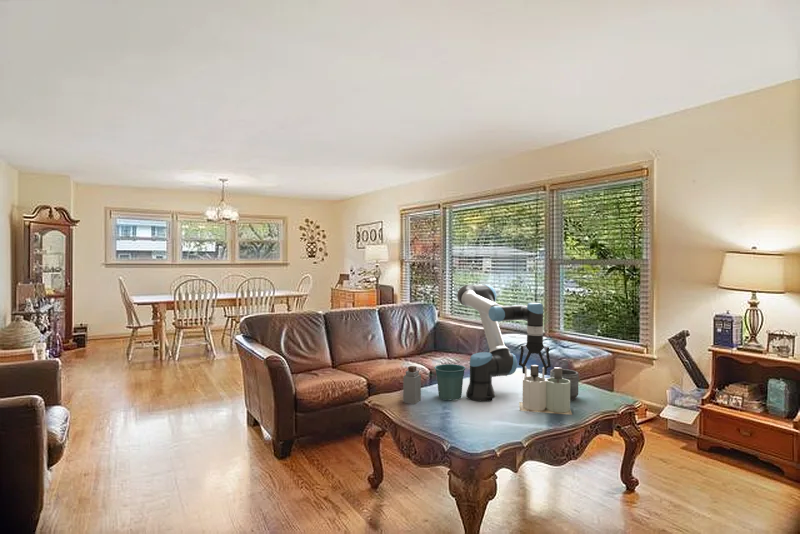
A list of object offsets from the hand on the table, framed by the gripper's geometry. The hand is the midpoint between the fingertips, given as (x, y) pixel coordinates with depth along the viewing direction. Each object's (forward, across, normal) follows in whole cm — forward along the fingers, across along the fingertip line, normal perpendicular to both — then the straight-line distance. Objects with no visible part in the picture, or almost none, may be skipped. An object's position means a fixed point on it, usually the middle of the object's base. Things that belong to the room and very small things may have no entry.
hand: (534, 380), depth 232 cm
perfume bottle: (+15, -61, -2) cm, 63 cm away
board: (+14, +5, 0) cm, 15 cm away
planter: (+15, +16, +21) cm, 30 cm away
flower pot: (+15, -43, +10) cm, 46 cm away
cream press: (+13, 0, +2) cm, 13 cm away
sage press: (+13, +11, +2) cm, 17 cm away
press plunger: (+8, 0, 0) cm, 8 cm away
